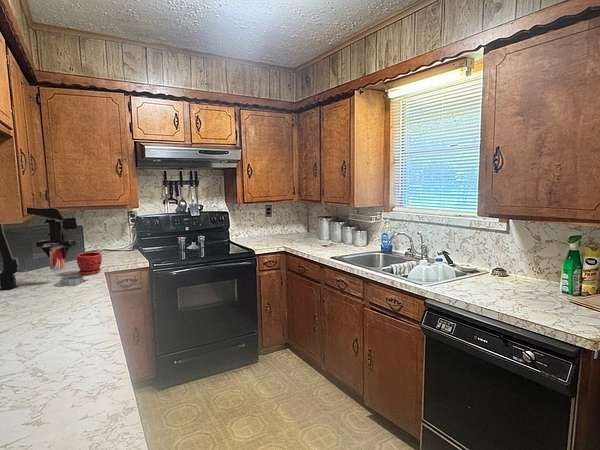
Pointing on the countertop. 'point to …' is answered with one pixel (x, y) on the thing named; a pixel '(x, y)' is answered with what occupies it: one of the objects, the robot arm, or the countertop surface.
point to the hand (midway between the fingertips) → (57, 258)
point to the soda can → (56, 258)
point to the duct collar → (71, 280)
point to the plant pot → (89, 263)
